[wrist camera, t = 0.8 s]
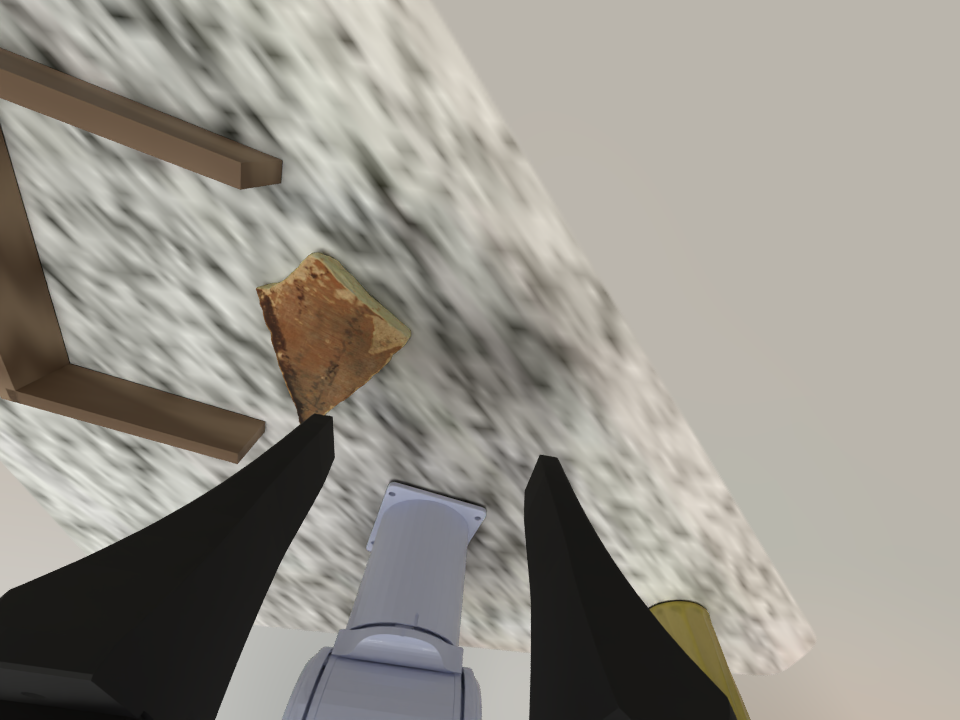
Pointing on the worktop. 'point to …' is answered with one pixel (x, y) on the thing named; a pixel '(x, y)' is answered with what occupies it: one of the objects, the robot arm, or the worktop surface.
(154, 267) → the worktop surface
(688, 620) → the olive green rod
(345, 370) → the shard
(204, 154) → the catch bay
